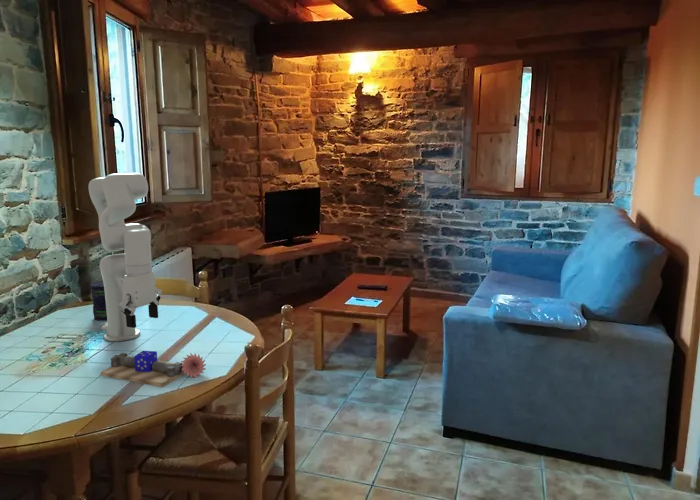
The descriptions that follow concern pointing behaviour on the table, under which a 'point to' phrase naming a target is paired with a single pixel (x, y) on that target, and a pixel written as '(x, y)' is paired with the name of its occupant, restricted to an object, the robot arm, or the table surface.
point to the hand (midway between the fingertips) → (142, 322)
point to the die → (145, 360)
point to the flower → (193, 365)
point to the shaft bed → (158, 376)
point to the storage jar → (99, 301)
